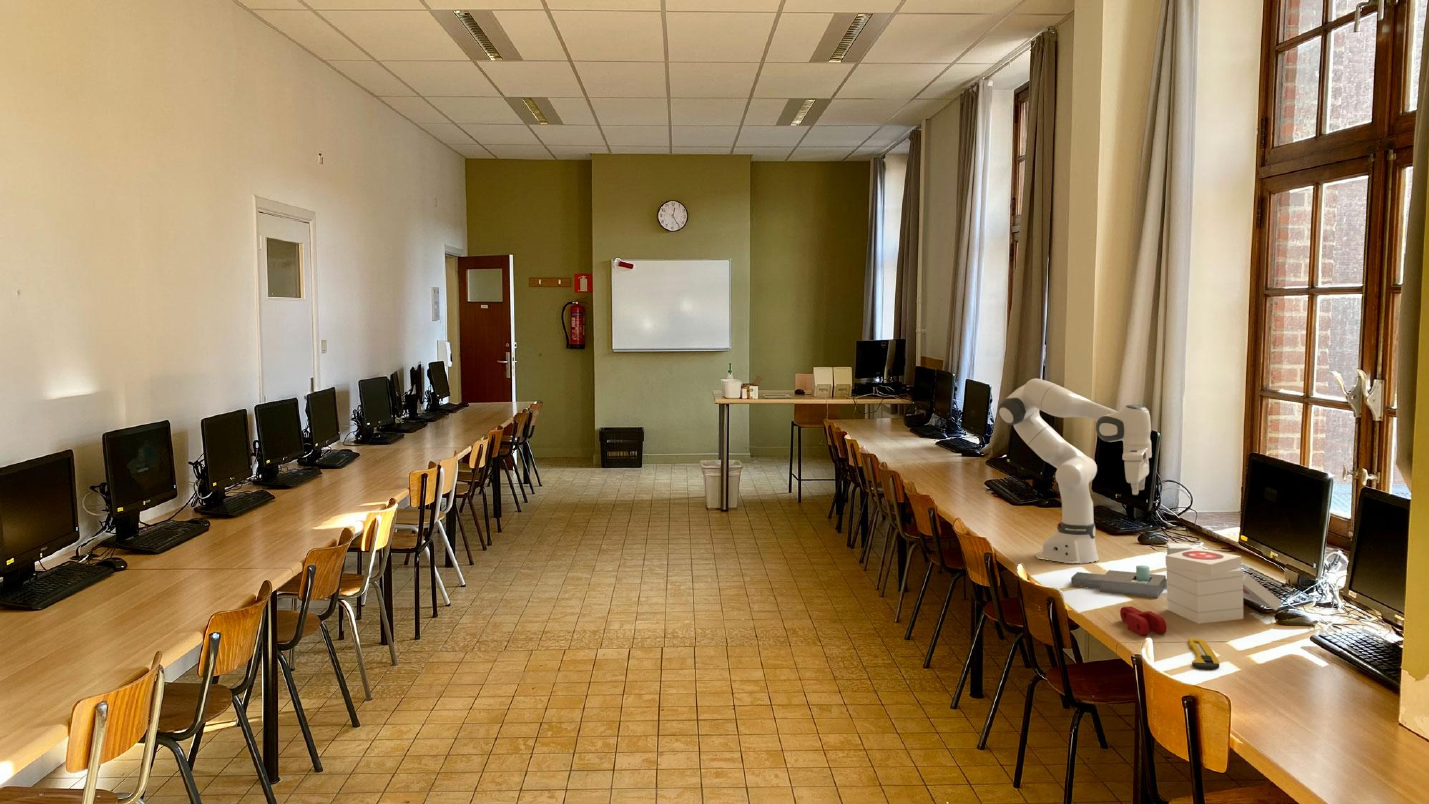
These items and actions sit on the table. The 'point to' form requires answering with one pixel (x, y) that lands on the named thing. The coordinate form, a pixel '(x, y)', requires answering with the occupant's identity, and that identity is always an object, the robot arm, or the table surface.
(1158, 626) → the mechanical linkage
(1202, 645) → the utility knife
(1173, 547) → the supplement box
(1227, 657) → the table surface
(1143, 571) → the peg
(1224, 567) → the white stacked boxes
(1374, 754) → the table surface
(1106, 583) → the plate
